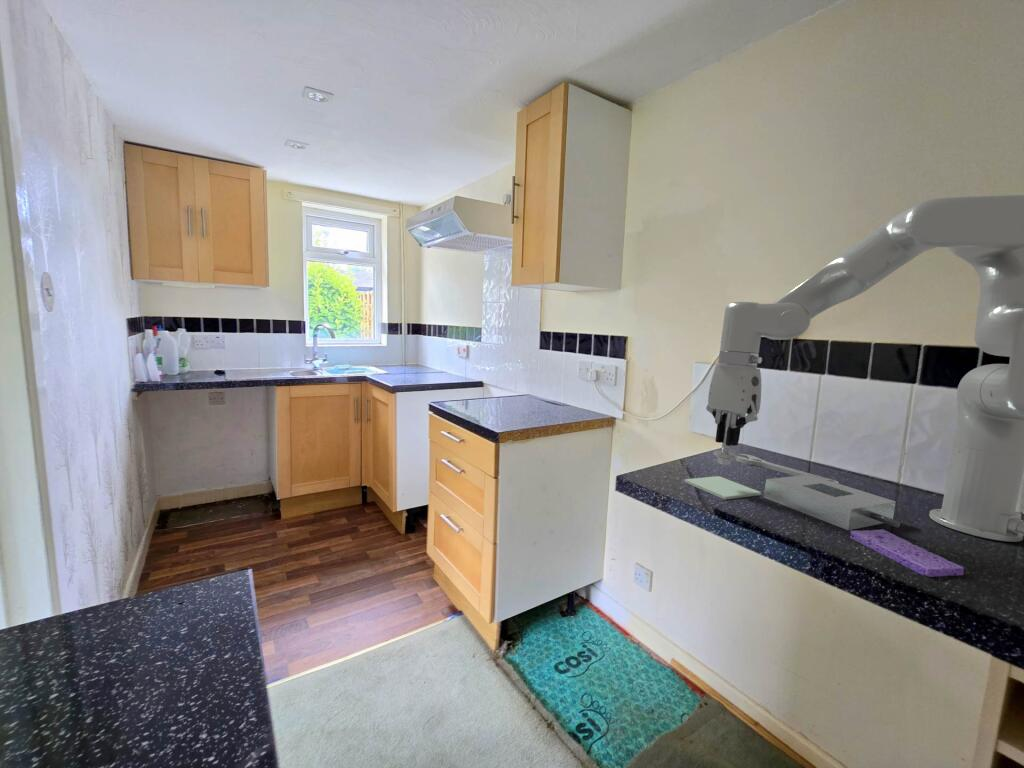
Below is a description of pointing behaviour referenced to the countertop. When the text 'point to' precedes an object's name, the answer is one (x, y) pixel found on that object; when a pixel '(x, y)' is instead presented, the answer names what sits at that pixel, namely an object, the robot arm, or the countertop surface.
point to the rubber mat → (722, 487)
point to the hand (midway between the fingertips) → (726, 443)
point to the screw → (725, 446)
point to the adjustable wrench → (773, 466)
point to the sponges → (907, 553)
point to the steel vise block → (831, 501)
